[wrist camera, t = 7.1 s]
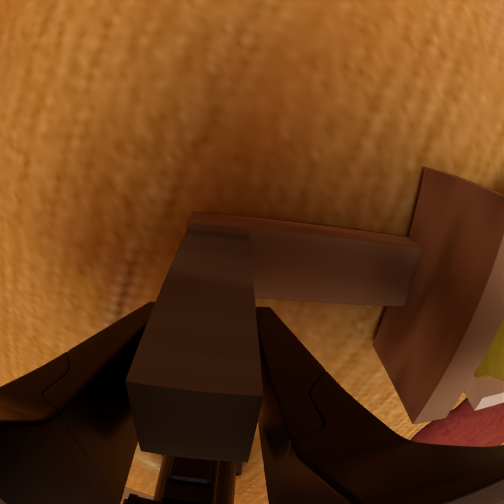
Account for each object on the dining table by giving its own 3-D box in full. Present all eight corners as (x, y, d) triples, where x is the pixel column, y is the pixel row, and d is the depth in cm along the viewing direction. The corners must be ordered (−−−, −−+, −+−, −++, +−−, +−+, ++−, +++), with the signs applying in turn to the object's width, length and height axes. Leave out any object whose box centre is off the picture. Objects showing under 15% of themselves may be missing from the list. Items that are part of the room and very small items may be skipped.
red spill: (367, 465, 24) (370, 482, 22) (477, 368, 19) (488, 385, 18) (457, 472, 27) (462, 483, 25) (538, 399, 22) (545, 410, 20)
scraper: (401, 344, 17) (474, 472, 8) (187, 335, 16) (157, 506, 7) (455, 175, 13) (610, 249, 5) (199, 129, 12) (110, 148, 4)
